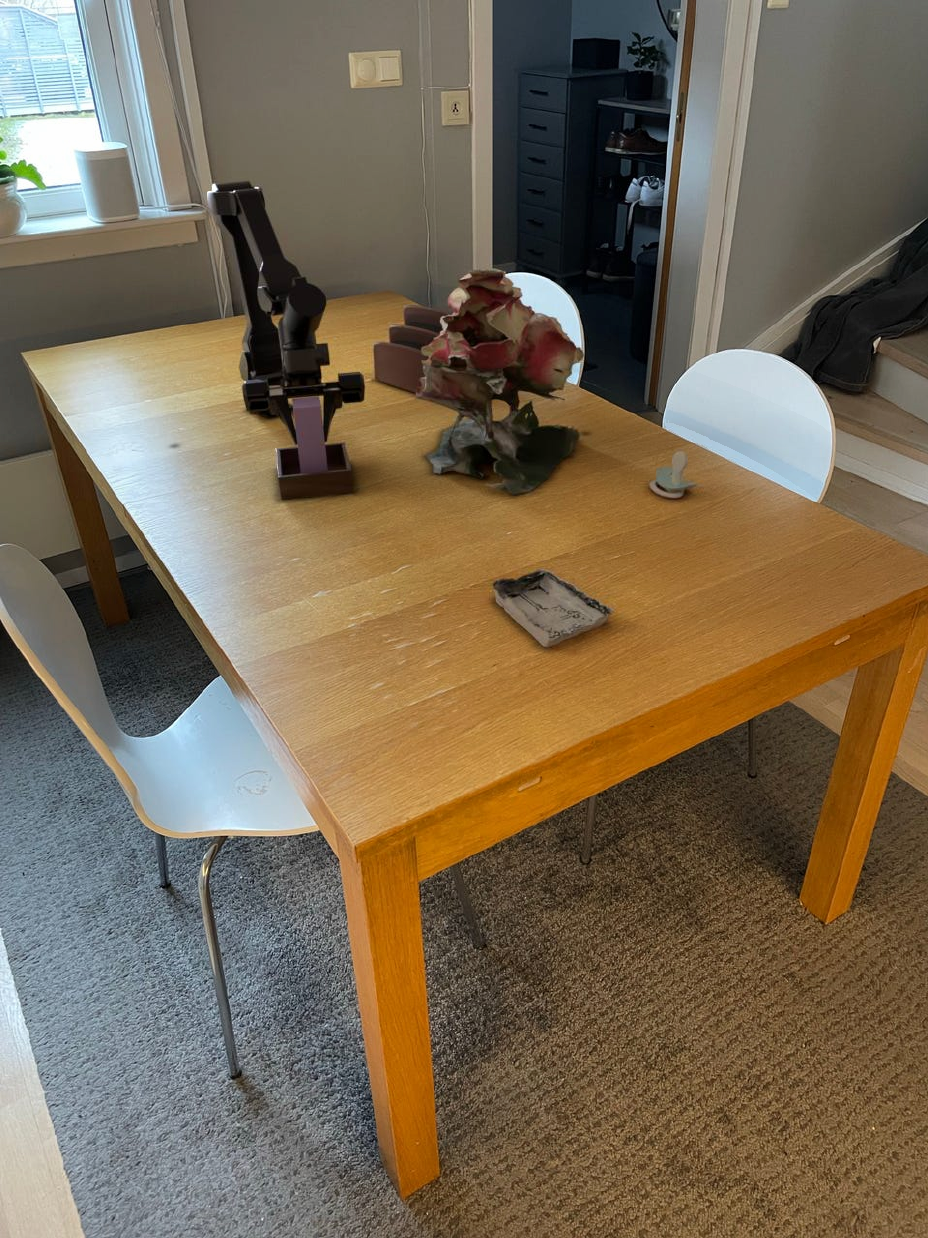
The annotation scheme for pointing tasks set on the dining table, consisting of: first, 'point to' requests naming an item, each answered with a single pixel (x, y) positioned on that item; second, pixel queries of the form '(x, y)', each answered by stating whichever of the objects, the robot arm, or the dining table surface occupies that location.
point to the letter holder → (407, 347)
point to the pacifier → (675, 482)
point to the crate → (314, 474)
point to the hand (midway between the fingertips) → (310, 442)
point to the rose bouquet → (498, 382)
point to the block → (310, 434)
